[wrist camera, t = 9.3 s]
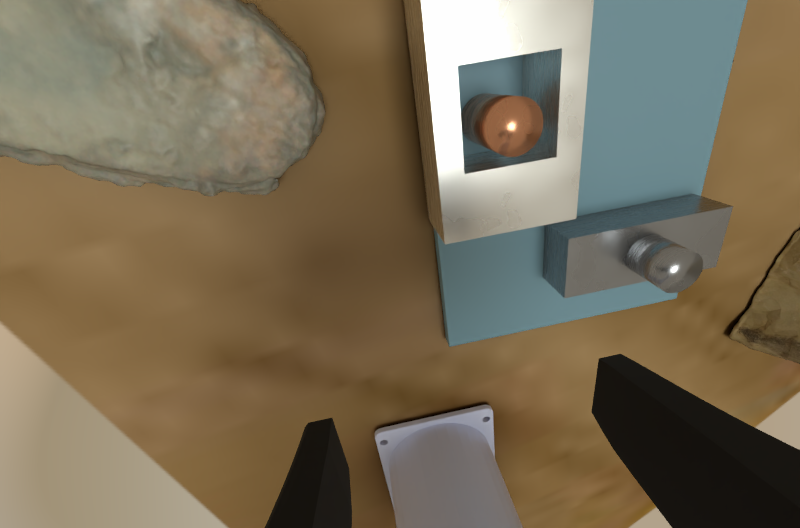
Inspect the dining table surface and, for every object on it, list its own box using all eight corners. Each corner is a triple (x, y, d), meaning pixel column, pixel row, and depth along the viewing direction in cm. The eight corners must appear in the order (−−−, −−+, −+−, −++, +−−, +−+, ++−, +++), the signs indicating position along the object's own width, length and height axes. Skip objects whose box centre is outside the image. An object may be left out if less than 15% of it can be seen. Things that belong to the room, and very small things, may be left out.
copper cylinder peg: (505, 139, 16) (542, 151, 13) (461, 146, 16) (489, 161, 13) (504, 89, 15) (544, 91, 12) (458, 97, 15) (487, 101, 12)
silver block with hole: (548, -32, 14) (598, -60, 11) (541, 198, 18) (576, 218, 15) (402, -10, 13) (417, -33, 11) (429, 219, 18) (444, 244, 15)
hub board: (665, 291, 23) (676, 298, 22) (446, 338, 22) (449, 346, 21) (737, -31, 15) (756, -36, 15) (410, 21, 15) (414, 17, 14)
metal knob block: (668, 243, 21) (755, 286, 17) (535, 270, 21) (588, 322, 16) (680, 189, 20) (778, 220, 15) (537, 217, 19) (596, 258, 15)
